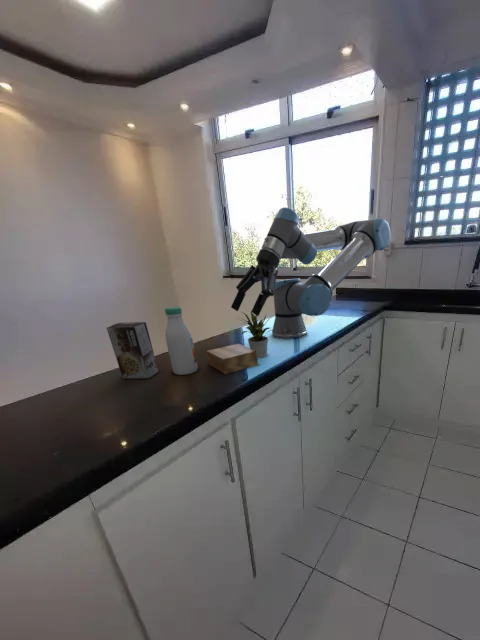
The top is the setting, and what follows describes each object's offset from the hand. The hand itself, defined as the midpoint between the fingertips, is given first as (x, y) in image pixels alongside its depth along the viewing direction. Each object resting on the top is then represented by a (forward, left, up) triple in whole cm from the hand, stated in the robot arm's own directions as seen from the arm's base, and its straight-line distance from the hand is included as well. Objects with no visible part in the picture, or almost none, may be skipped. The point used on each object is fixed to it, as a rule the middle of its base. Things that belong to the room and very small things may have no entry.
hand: (244, 311), depth 105 cm
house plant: (-2, +1, -16) cm, 16 cm away
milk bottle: (+23, -1, -16) cm, 28 cm away
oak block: (+9, +5, -16) cm, 19 cm away
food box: (+35, -8, -16) cm, 39 cm away
